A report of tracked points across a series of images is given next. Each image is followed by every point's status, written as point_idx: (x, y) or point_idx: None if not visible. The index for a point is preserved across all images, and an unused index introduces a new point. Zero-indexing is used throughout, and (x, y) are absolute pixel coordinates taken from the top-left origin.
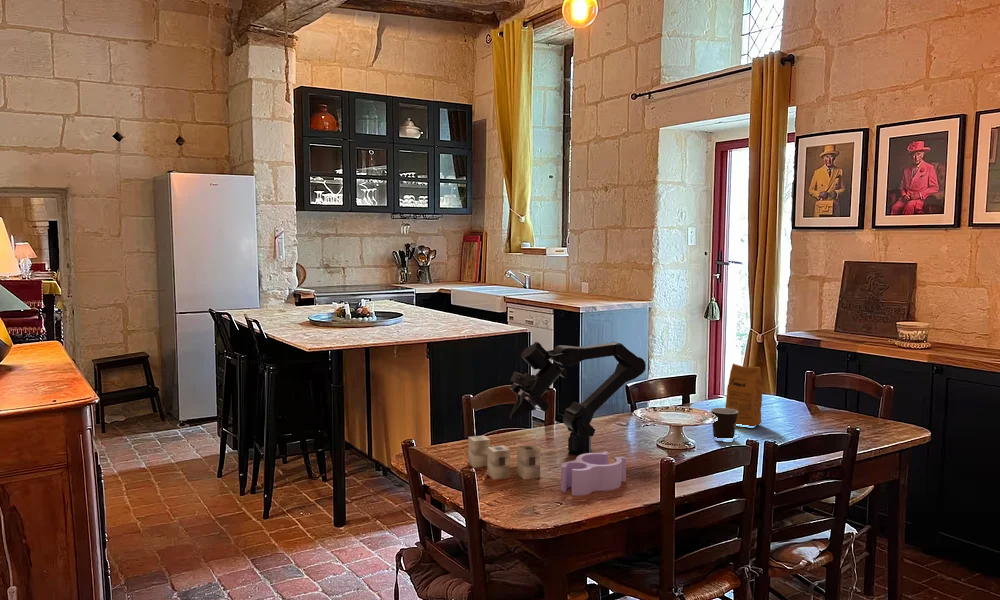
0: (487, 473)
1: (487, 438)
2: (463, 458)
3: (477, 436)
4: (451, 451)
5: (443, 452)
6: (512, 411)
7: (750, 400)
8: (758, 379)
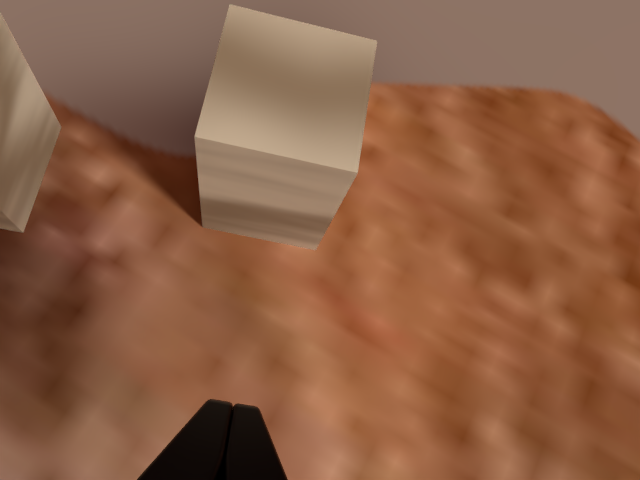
0: (59, 124)
1: (244, 141)
2: (426, 171)
3: (352, 105)
4: (585, 183)
5: (582, 136)
6: (248, 476)
7: None
8: None
